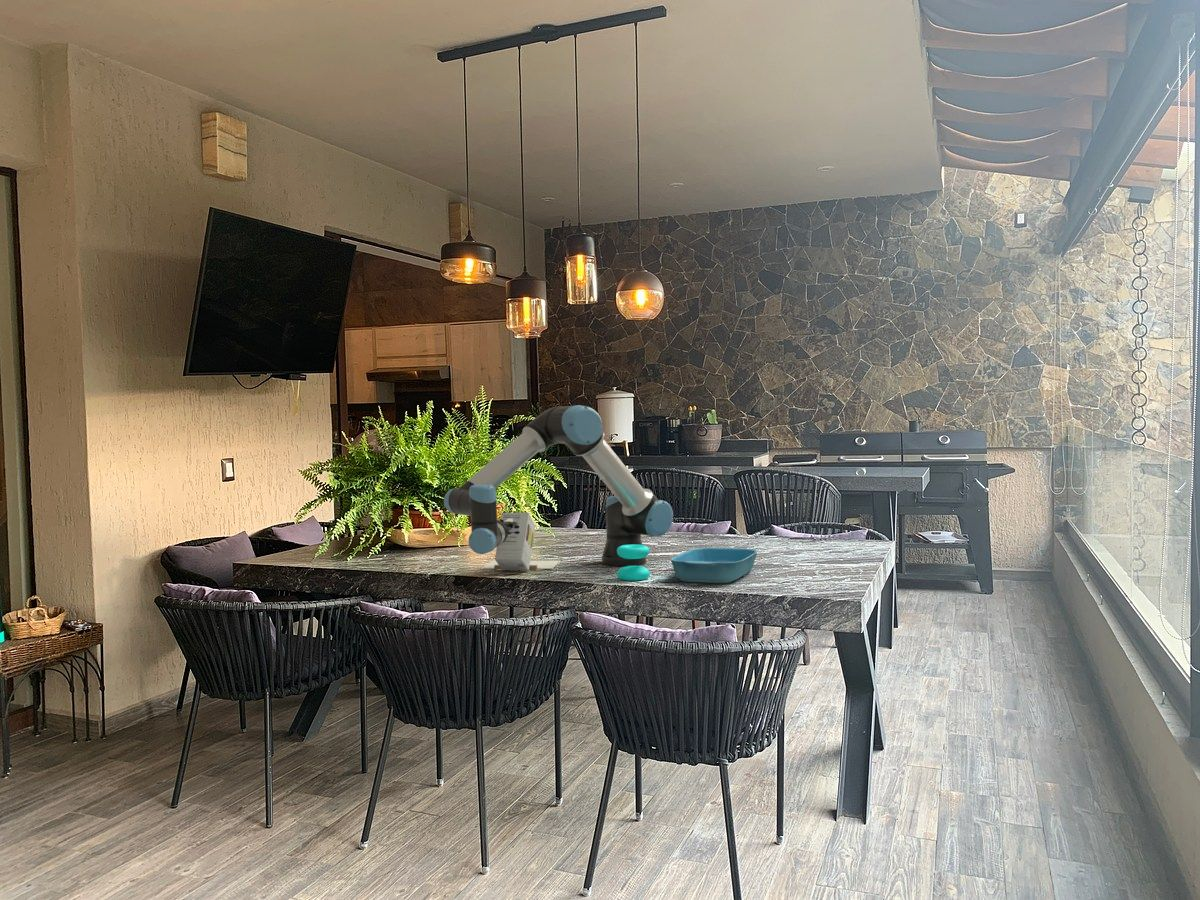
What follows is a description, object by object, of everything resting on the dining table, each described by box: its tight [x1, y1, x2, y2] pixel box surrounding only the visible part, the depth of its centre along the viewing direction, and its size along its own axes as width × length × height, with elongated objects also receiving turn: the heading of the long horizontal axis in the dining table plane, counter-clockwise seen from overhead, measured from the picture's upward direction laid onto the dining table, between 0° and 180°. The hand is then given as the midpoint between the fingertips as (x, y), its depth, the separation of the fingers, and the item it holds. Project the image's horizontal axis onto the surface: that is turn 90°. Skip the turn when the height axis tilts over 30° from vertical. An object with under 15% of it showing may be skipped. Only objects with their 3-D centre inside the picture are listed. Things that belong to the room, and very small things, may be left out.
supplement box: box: [494, 512, 536, 572], centre depth 305 cm, size 10×9×17 cm
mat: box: [480, 560, 561, 571], centre depth 315 cm, size 24×17×2 cm
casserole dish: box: [670, 546, 758, 584], centre depth 290 cm, size 37×22×7 cm, turn 158°
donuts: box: [616, 544, 651, 582], centre depth 287 cm, size 10×10×10 cm
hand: (510, 522), depth 303 cm, fingers closed
